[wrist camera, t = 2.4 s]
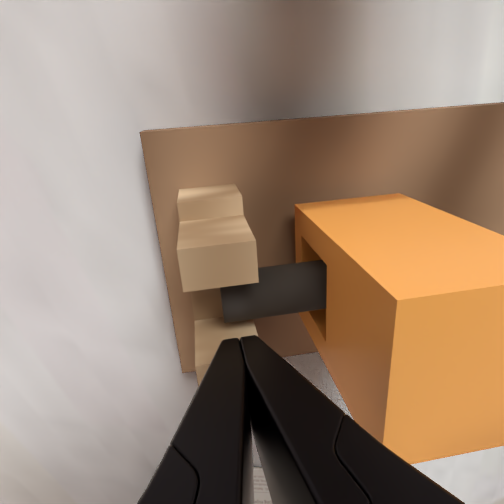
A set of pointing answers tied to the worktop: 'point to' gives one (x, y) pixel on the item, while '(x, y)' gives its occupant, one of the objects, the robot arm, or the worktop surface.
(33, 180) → the worktop surface
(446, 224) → the sleeve
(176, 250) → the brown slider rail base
